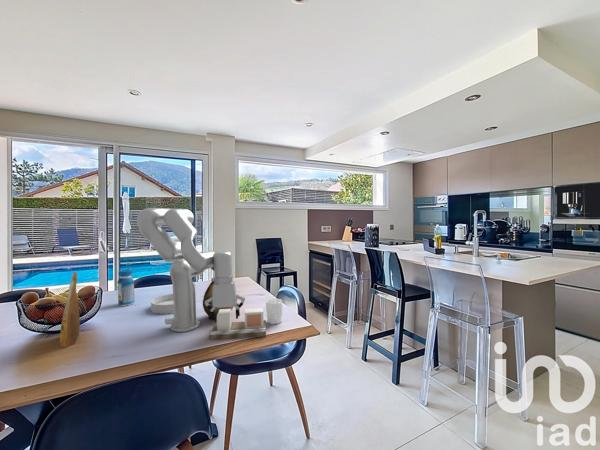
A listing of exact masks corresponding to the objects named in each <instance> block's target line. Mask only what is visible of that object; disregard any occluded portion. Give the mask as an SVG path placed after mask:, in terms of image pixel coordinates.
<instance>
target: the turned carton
mask: <svg viewBox="0 0 600 450" xmlns="http://www.w3.org/2000/svg"><path fill="white" fill-rule="evenodd" d="M231 322H232V310H231V309H220V310H219V312H218V314H217V320H216V323H217V331H226V330H230V327H231V324H232V323H231Z"/></svg>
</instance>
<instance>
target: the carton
mask: <svg viewBox="0 0 600 450" xmlns="http://www.w3.org/2000/svg"><path fill="white" fill-rule="evenodd" d="M264 320H265V319H264V307H261V308H259V307H258V308H245V309H244V322H245V329H248V328H264Z"/></svg>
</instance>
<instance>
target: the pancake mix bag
mask: <svg viewBox="0 0 600 450" xmlns="http://www.w3.org/2000/svg"><path fill="white" fill-rule="evenodd" d="M77 283H78V273H77V272H76V271H75V270H73V272H72V276H71V279H70V283H69V286H68V294H67V298H66V301H65V305H64V311H63V315H62V319H61V324H60V325H61V326H60V331H59V332H60V334H59V344H60V347H61V348H68V347H71V346H73V345H75V344H76V342H77V340H78V337H79V335H80V325H81V324H80V322H81V321H80V320H81V319H80V306H79V302H78V295H77V285H78V284H77Z"/></svg>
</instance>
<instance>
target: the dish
mask: <svg viewBox="0 0 600 450" xmlns="http://www.w3.org/2000/svg"><path fill="white" fill-rule="evenodd" d="M150 311H152V313H153V312H154V313H153V314H157V313H160V314H159V315H168V313H170V314H174V304H173V293H169V294H166V295H165V294H164V295H161V296H160V295H159V296H157V297H155V298H153V299H152V300H151V301H150Z"/></svg>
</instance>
